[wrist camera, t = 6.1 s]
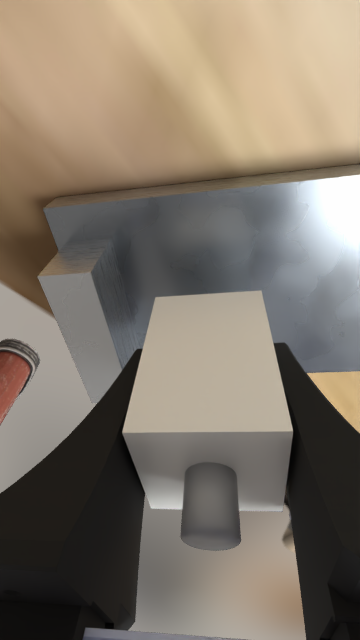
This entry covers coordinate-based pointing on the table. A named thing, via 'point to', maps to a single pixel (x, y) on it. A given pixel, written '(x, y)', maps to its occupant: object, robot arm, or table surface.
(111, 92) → the table surface
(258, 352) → the housing block
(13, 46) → the table surface
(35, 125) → the table surface
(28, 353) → the lighter
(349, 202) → the press bed
